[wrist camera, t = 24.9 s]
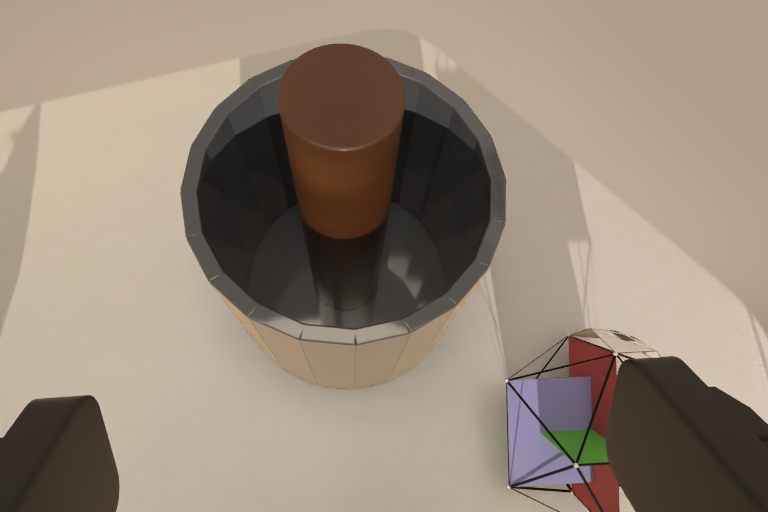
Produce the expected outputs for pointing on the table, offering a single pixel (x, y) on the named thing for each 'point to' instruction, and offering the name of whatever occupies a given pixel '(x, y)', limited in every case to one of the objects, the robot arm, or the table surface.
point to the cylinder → (343, 163)
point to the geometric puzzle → (568, 422)
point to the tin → (288, 247)
